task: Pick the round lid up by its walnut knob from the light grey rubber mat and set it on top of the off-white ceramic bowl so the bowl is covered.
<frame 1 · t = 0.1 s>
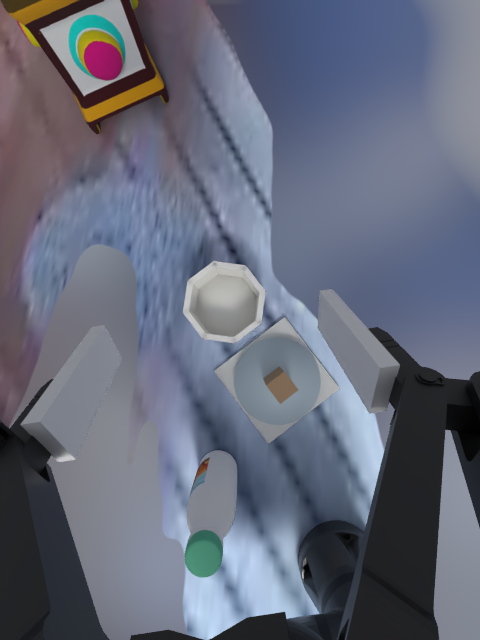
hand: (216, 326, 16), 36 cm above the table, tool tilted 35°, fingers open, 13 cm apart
bowl: (226, 305, 51), on the table
milk bottle: (218, 467, 50), on the table
lid: (276, 379, 50), point 1 cm above the table, touching mat
mat: (276, 379, 51), on the table
decorative lantern: (118, 86, 54), on the table
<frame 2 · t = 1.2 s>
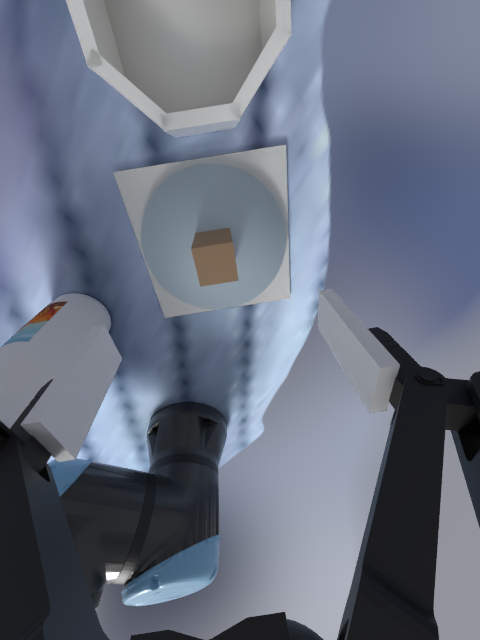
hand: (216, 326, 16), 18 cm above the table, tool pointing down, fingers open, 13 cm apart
bowl: (188, 31, 21), on the table
milk bottle: (83, 315, 35), on the table
lid: (215, 245, 31), point 1 cm above the table, touching mat
mat: (215, 243, 31), on the table
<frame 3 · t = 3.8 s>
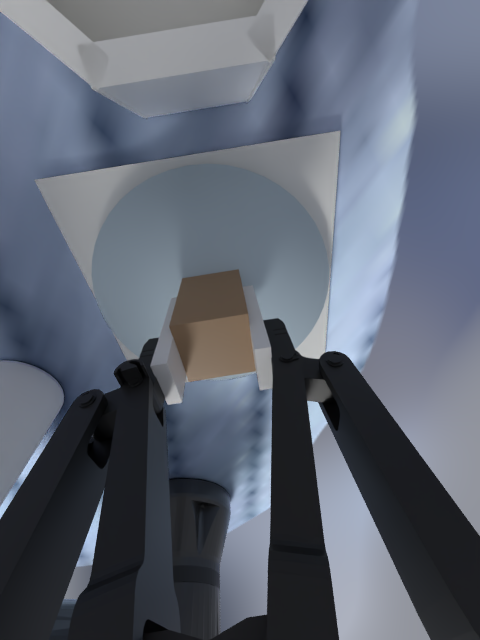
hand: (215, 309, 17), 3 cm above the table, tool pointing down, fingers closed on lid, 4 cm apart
milk bottle: (23, 386, 24), on the table
lid: (215, 292, 19), point 1 cm above the table, touching gripper, mat
mat: (215, 289, 20), on the table
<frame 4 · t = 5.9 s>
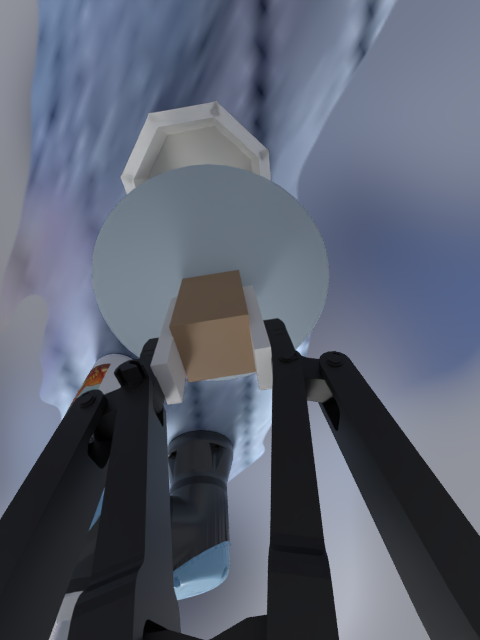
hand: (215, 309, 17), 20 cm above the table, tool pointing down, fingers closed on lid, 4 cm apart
bowl: (204, 191, 31), on the table
milk bottle: (119, 368, 44), on the table
lid: (215, 293, 19), point 17 cm above the table, touching gripper
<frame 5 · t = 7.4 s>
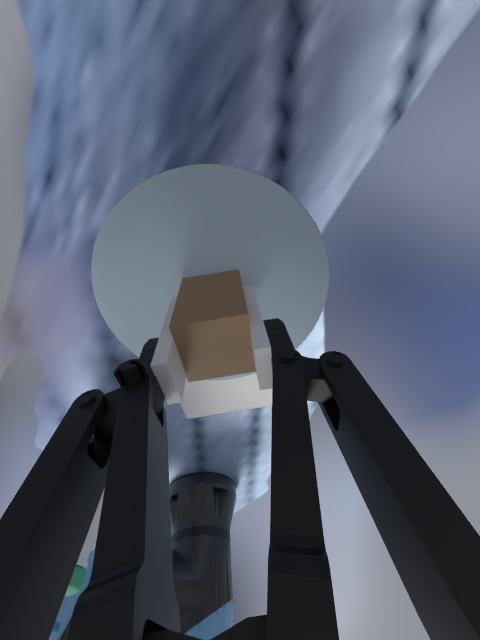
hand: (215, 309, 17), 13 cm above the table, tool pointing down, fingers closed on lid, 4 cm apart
milk bottle: (119, 417, 42), on the table
lid: (215, 292, 19), point 10 cm above the table, touching gripper
mat: (231, 369, 38), on the table
when the fingers open (11 cm above the table, at t = 8.3 s): lid drops 2 cm, resting on bowl.
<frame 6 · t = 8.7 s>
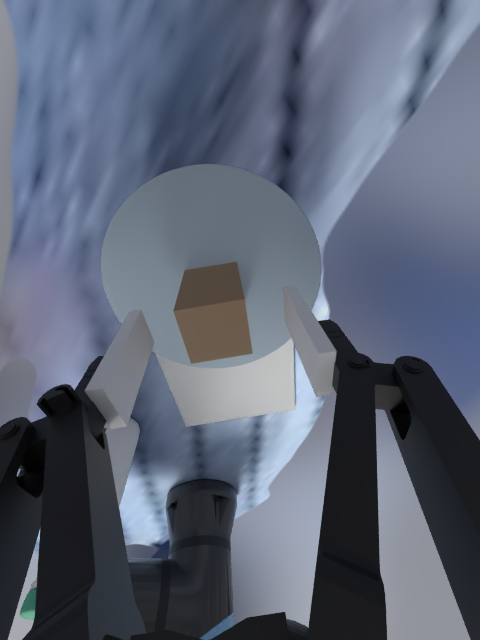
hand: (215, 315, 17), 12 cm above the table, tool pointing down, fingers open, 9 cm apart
milk bottle: (116, 425, 41), on the table
lid: (215, 284, 21), point 7 cm above the table, touching bowl
mat: (231, 376, 36), on the table
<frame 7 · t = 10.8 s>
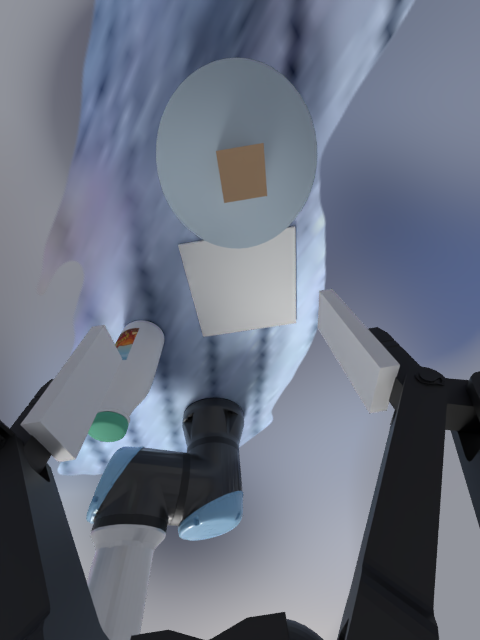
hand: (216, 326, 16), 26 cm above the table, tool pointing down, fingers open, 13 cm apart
milk bottle: (144, 334, 48), on the table
lid: (237, 169, 28), point 7 cm above the table, touching bowl
mat: (243, 287, 44), on the table
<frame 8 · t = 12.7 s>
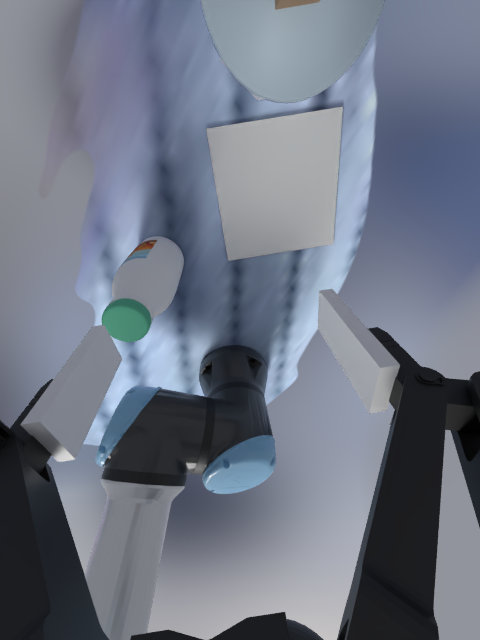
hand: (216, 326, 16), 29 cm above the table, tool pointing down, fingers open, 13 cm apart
milk bottle: (161, 258, 42), on the table
mat: (277, 193, 38), on the table
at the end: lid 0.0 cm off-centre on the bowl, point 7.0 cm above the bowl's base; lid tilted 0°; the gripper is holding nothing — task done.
